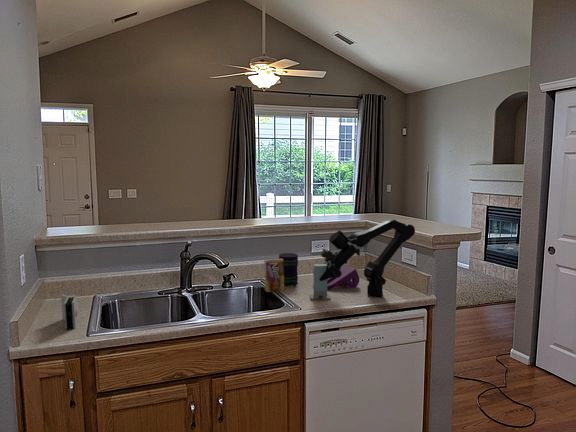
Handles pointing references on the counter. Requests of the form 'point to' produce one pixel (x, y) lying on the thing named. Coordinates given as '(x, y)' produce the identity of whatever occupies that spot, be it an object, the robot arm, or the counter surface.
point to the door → (318, 272)
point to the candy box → (274, 275)
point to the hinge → (70, 311)
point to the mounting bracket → (344, 278)
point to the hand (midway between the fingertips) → (319, 279)
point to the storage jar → (290, 268)
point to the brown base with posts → (320, 297)
